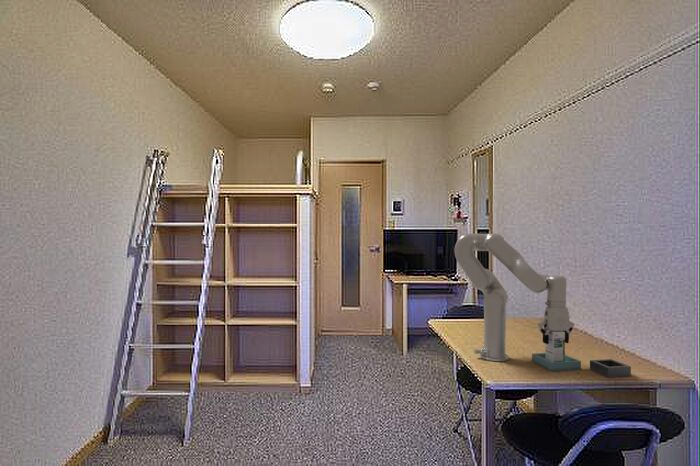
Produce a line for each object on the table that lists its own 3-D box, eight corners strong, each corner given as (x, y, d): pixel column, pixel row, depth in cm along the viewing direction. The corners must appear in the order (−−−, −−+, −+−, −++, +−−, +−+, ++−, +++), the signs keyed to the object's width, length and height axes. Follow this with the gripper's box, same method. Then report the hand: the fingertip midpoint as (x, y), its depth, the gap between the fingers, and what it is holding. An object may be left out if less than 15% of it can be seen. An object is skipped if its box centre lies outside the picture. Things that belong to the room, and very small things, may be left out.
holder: (608, 377, 182) (608, 367, 182) (589, 369, 193) (589, 360, 193) (630, 376, 184) (630, 366, 184) (611, 368, 195) (611, 359, 195)
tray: (551, 371, 190) (551, 363, 190) (531, 361, 204) (532, 353, 204) (580, 369, 193) (580, 361, 193) (559, 359, 207) (559, 352, 206)
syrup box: (553, 365, 195) (553, 331, 195) (544, 361, 201) (545, 328, 201) (564, 364, 196) (565, 331, 196) (556, 360, 202) (556, 328, 202)
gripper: (543, 306, 193) (543, 346, 193) (579, 305, 196) (579, 344, 196) (533, 303, 200) (532, 341, 200) (568, 302, 203) (567, 340, 204)
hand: (555, 342), depth 198 cm, fingers open, 9 cm apart
